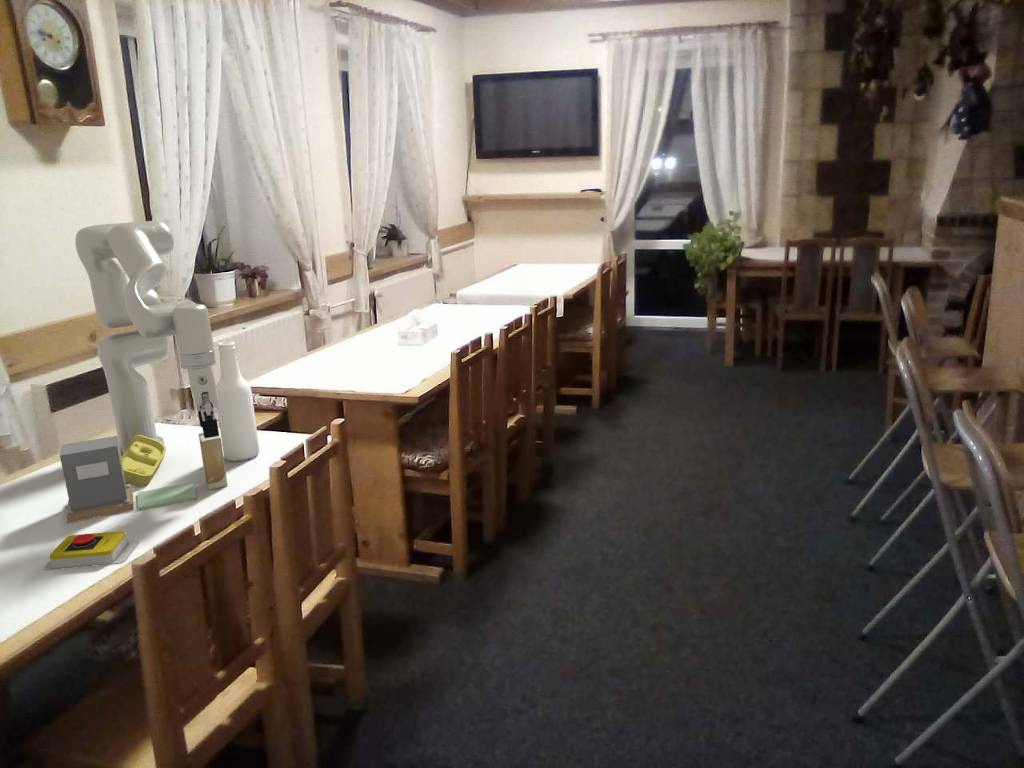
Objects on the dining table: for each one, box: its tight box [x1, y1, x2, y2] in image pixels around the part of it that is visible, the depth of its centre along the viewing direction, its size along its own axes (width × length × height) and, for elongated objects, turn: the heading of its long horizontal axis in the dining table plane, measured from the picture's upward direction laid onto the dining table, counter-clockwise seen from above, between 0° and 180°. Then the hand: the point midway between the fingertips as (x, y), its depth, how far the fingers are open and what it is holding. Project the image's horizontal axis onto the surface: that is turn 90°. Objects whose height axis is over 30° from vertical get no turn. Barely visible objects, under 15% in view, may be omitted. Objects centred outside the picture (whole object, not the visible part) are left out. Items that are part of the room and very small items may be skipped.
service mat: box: [137, 481, 197, 511], centre depth 181 cm, size 10×12×1 cm
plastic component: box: [121, 435, 167, 487], centre depth 196 cm, size 20×7×10 cm
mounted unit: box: [59, 435, 135, 524], centre depth 176 cm, size 12×13×14 cm
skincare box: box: [198, 432, 229, 491], centre depth 186 cm, size 6×4×12 cm
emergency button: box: [43, 530, 140, 571], centre depth 154 cm, size 9×4×15 cm
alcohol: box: [216, 340, 260, 462], centre depth 202 cm, size 9×9×30 cm
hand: (209, 431), depth 184 cm, fingers open, 9 cm apart
